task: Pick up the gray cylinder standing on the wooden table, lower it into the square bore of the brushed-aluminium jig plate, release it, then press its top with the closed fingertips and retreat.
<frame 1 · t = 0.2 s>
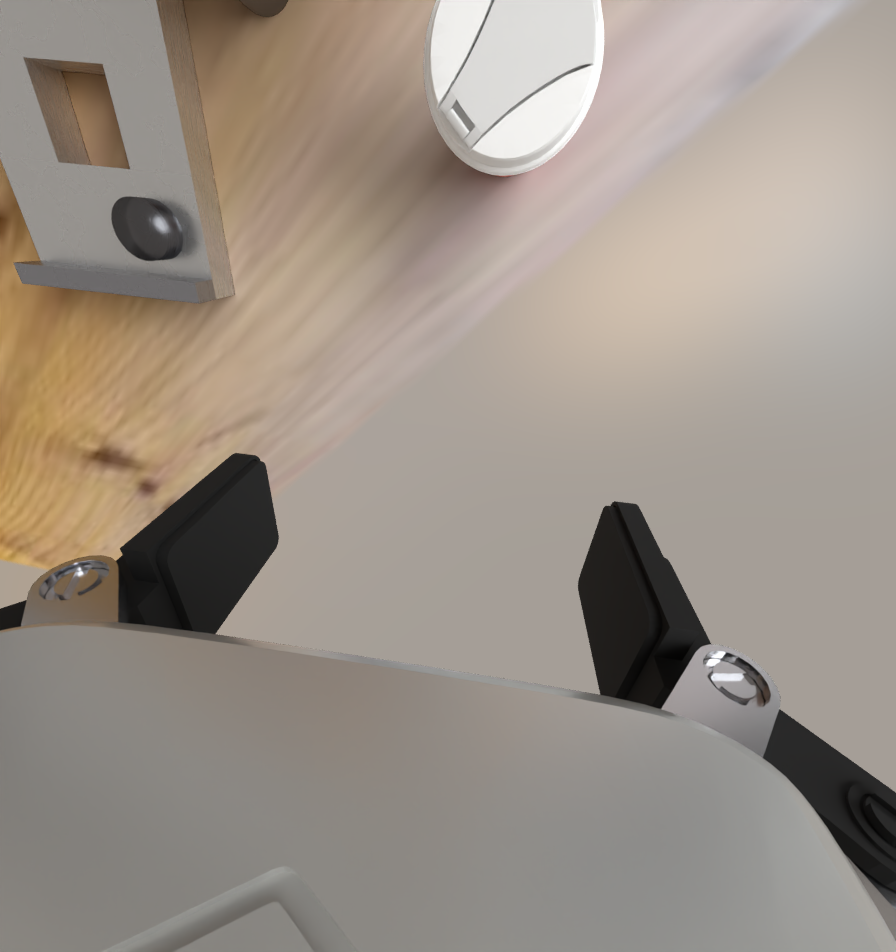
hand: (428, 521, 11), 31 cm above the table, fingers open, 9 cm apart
jig: (111, 124, 33), on the table
coffee cup: (508, 127, 31), on the table
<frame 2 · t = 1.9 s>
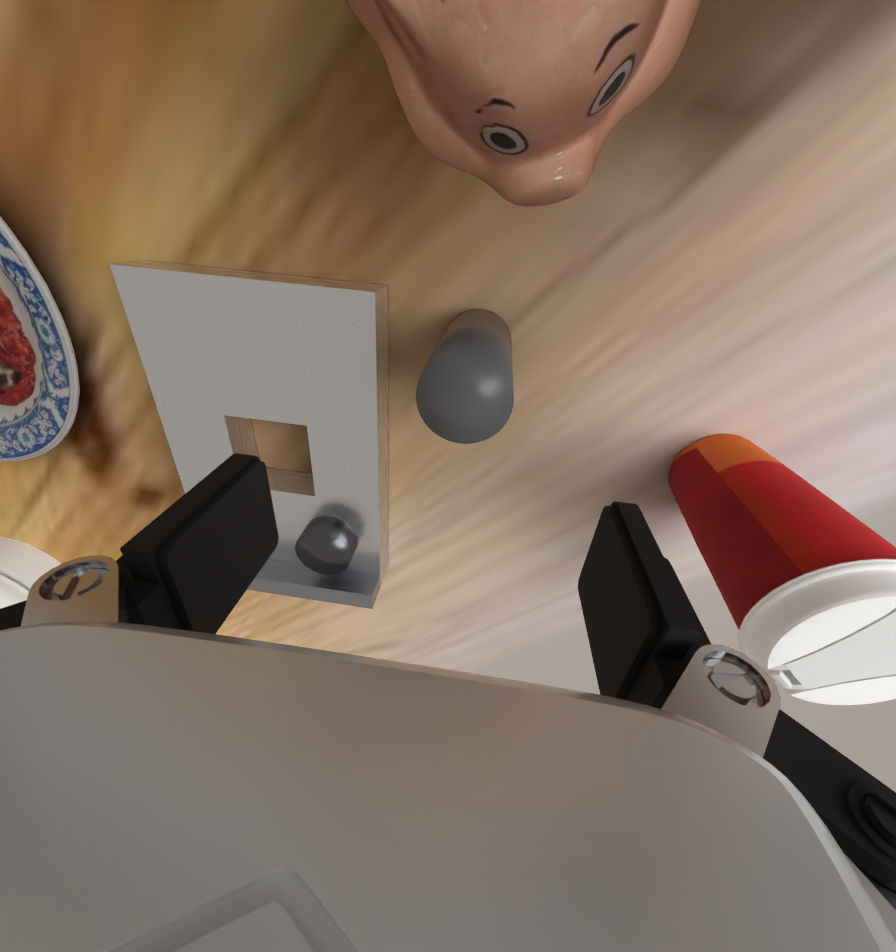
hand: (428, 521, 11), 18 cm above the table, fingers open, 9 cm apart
gray cylinder: (477, 344, 27), on the table
jig: (290, 439, 32), on the table
coffee cup: (712, 468, 30), on the table
honey pot: (33, 578, 47), on the table
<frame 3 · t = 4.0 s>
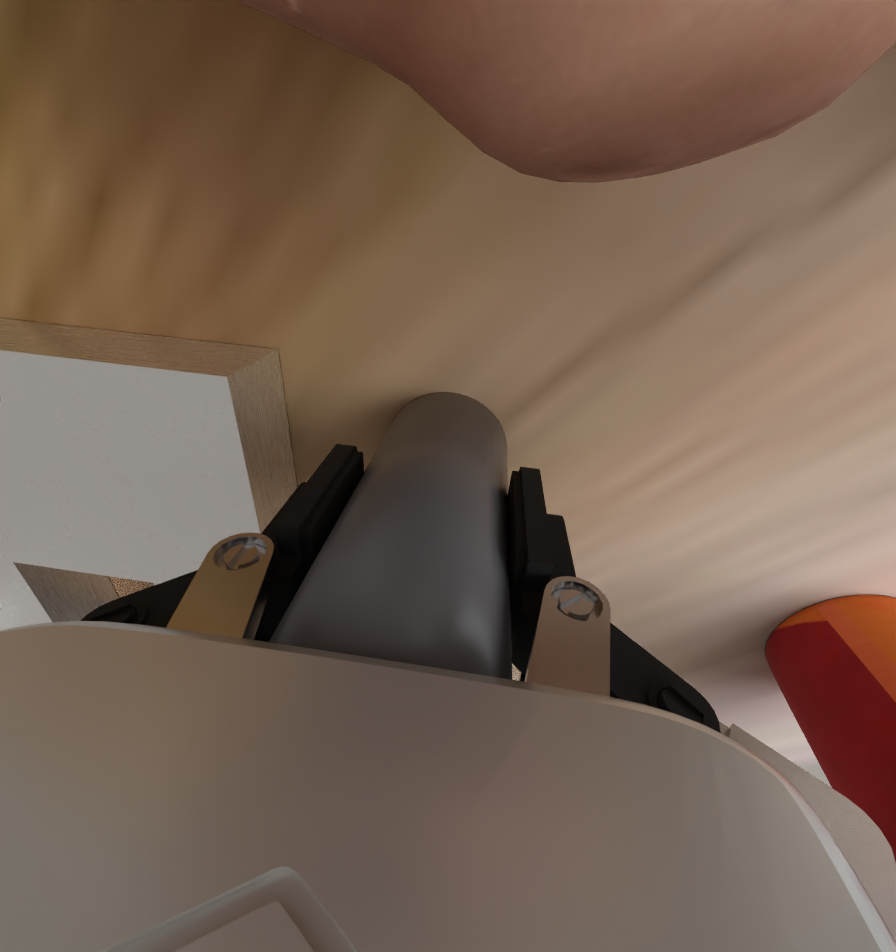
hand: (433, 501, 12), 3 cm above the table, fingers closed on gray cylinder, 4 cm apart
gray cylinder: (446, 449, 15), on the table, touching gripper
jig: (158, 572, 20), on the table
coffee cup: (840, 637, 18), on the table
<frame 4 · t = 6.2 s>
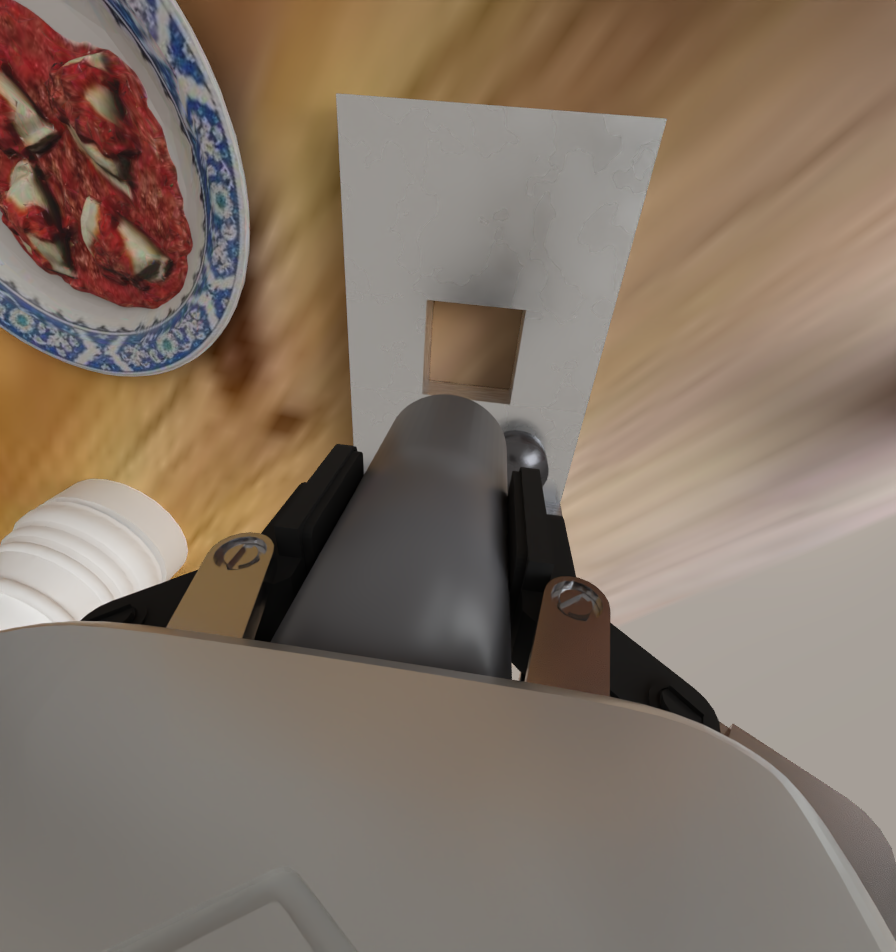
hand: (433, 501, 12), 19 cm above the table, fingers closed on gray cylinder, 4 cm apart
ceramic plate: (72, 169, 26), on the table
gray cylinder: (446, 451, 15), point 16 cm above the table, touching gripper
jig: (473, 343, 28), on the table
honey pot: (129, 529, 43), on the table
when the fingers open (4 cm above the table, at t = 8.7 s): gray cylinder stays where it is, resting in jig.
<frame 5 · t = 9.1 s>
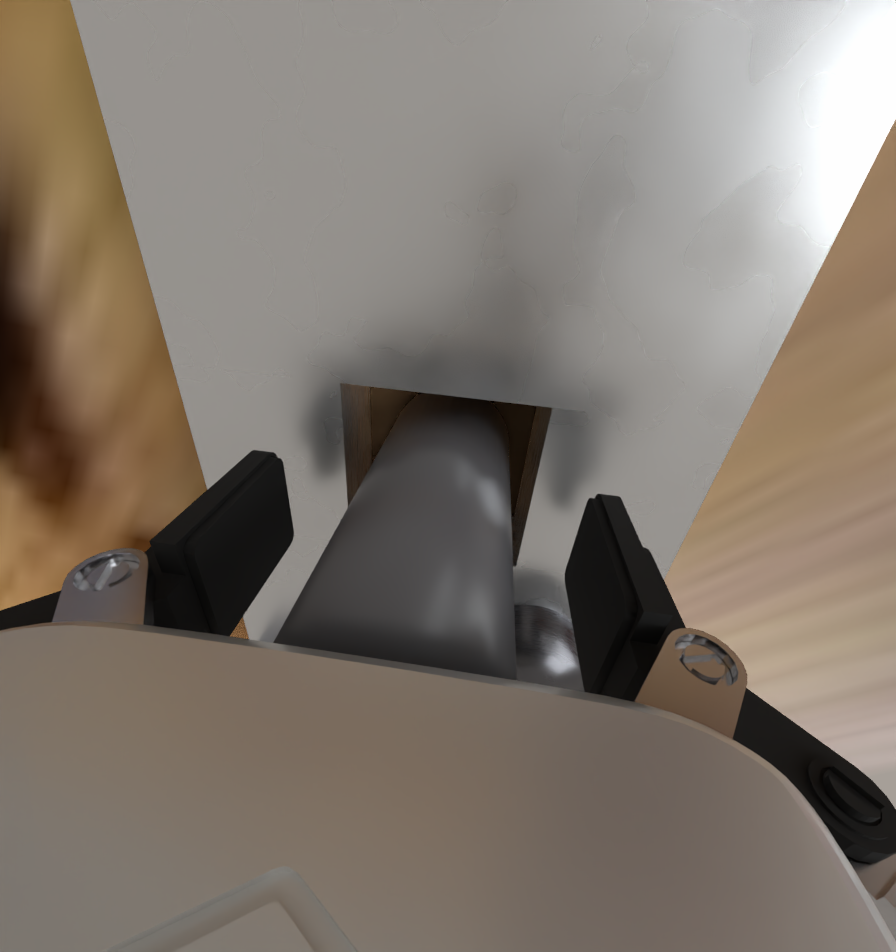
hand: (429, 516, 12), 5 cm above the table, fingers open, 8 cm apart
gray cylinder: (450, 442, 15), resting in jig
jig: (448, 442, 15), on the table
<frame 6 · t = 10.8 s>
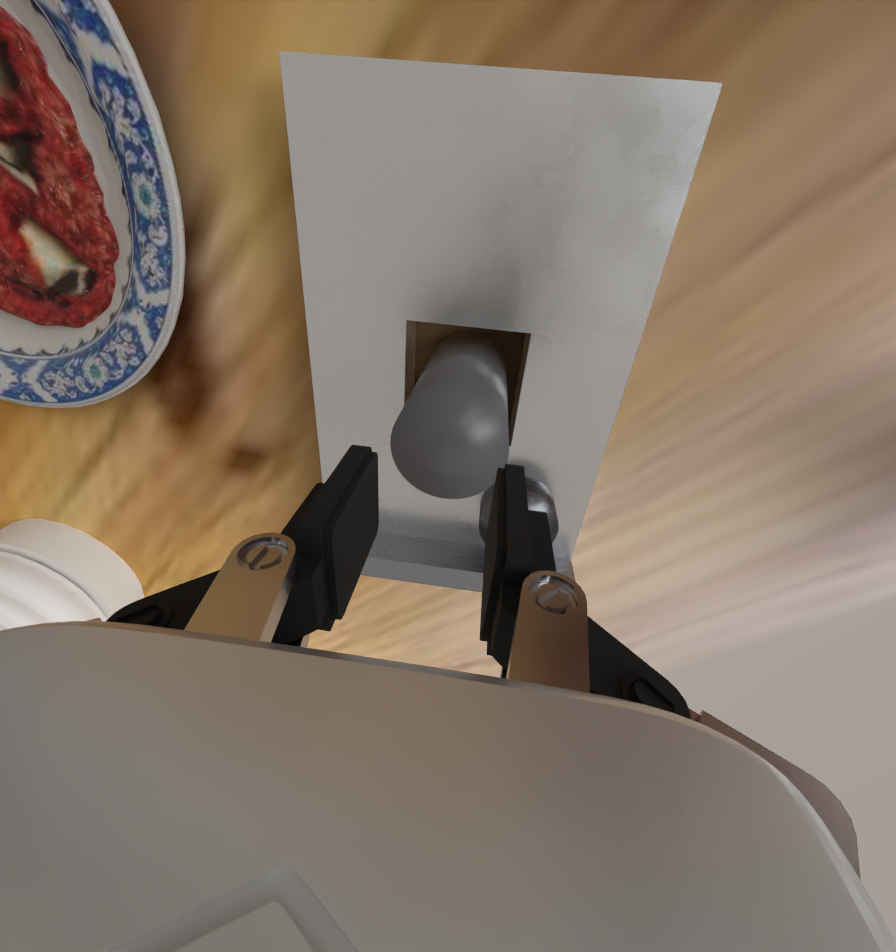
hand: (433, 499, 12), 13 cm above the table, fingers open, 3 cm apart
gray cylinder: (467, 370, 23), resting in jig
jig: (466, 370, 23), on the table
honey pot: (76, 572, 38), on the table
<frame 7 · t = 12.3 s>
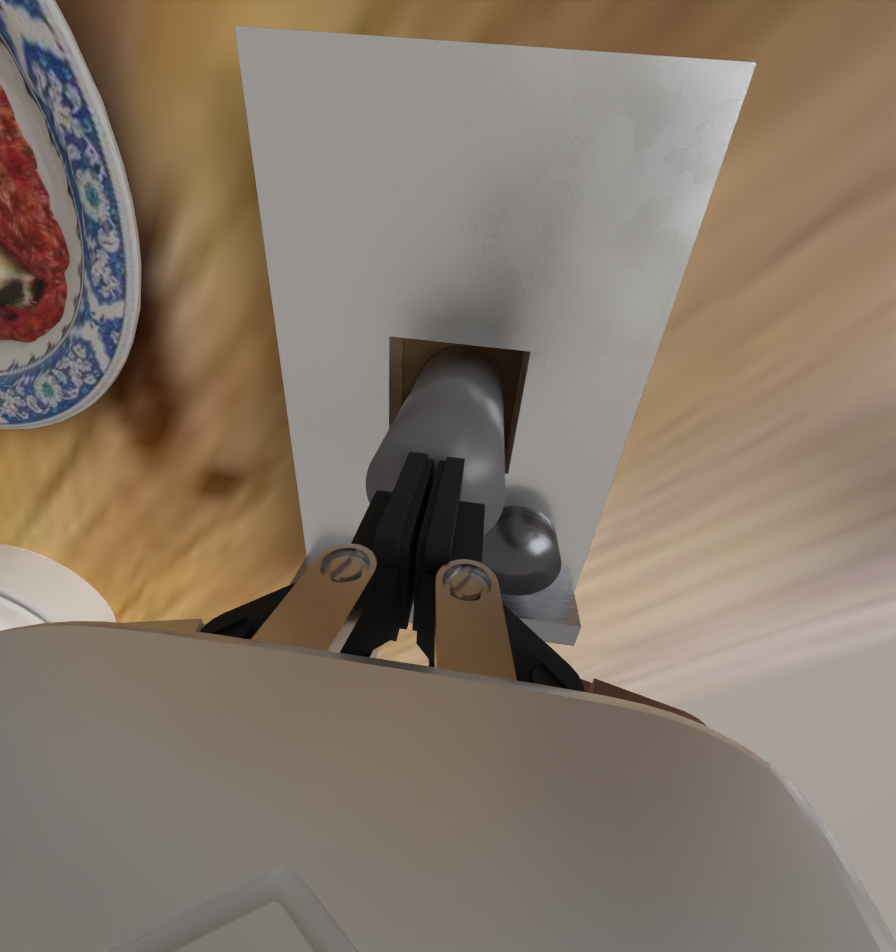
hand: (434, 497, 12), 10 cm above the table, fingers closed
gray cylinder: (460, 388, 21), resting in jig
jig: (458, 388, 21), on the table
honey pot: (44, 599, 35), on the table
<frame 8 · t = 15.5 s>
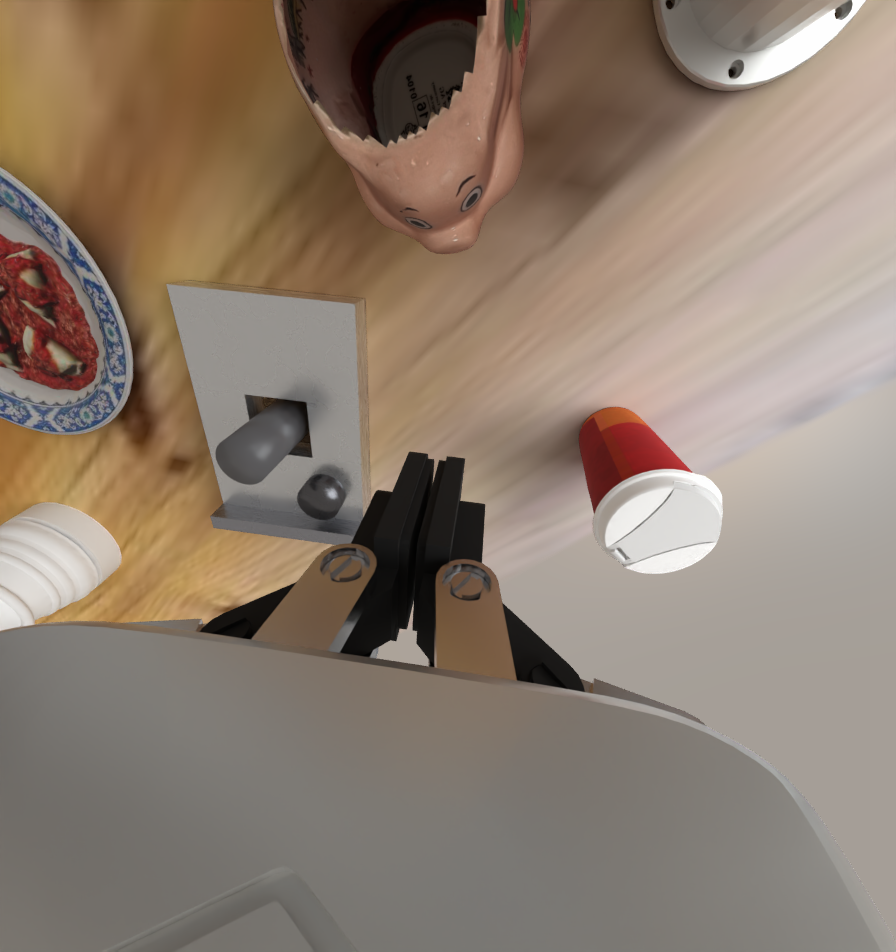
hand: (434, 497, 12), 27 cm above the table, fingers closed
ceramic plate: (18, 305, 40), on the table
decorative planter: (431, 86, 28), on the table
gray cylinder: (294, 415, 42), resting in jig
jig: (293, 415, 42), on the table
coffee cup: (610, 434, 40), on the table
honey pot: (76, 539, 56), on the table
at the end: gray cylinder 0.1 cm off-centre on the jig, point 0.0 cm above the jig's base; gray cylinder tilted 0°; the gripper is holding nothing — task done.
